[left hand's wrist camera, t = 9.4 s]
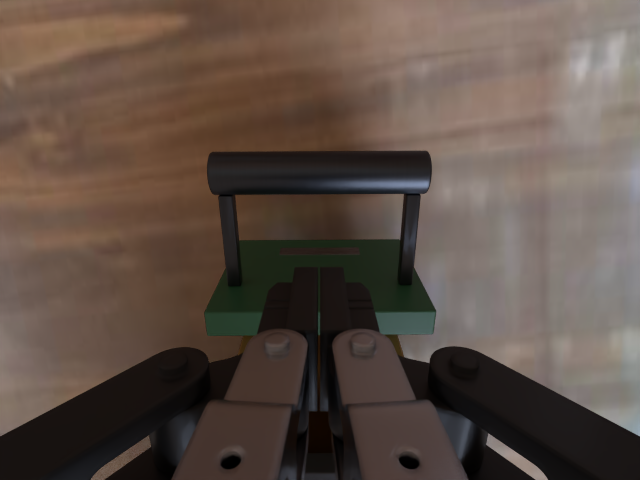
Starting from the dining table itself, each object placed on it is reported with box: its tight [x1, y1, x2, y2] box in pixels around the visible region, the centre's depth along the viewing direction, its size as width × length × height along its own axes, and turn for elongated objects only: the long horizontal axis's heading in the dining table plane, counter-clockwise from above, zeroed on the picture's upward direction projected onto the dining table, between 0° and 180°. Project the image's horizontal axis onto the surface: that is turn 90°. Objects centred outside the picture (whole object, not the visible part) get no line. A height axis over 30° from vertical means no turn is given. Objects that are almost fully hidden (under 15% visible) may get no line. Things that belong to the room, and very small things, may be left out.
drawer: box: [204, 151, 436, 453], centre depth 22 cm, size 26×10×8 cm, turn 0°
